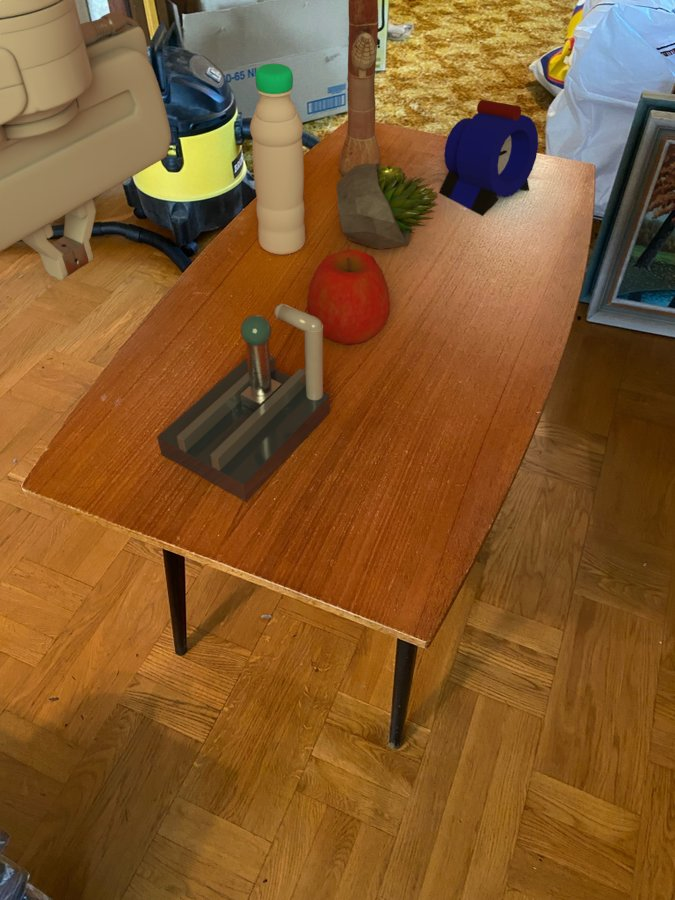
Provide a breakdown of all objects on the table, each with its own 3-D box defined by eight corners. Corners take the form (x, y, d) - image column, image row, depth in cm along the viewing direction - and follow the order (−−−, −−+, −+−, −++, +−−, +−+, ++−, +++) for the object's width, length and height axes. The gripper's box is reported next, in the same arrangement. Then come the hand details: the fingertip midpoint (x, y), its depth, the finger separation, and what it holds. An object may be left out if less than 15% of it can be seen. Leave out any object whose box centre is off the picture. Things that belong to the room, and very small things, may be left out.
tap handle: (240, 403, 81) (230, 322, 72) (261, 383, 83) (254, 302, 74) (262, 414, 80) (255, 333, 71) (283, 394, 82) (279, 313, 73)
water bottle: (308, 232, 110) (305, 59, 92) (302, 258, 106) (297, 81, 87) (263, 229, 111) (250, 56, 92) (255, 255, 106) (240, 78, 87)
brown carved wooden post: (346, 157, 127) (351, -42, 104) (386, 163, 126) (399, -37, 103) (329, 185, 120) (330, -21, 98) (371, 192, 119) (382, -15, 96)
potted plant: (346, 187, 113) (440, 169, 109) (353, 267, 112) (448, 251, 108) (324, 156, 101) (429, 134, 97) (331, 245, 101) (437, 226, 97)
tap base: (161, 454, 79) (136, 360, 69) (249, 374, 88) (239, 280, 78) (246, 502, 75) (233, 409, 65) (330, 413, 84) (330, 318, 74)
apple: (327, 294, 100) (327, 225, 92) (400, 313, 97) (406, 244, 89) (294, 339, 93) (291, 269, 85) (372, 361, 90) (376, 291, 82)
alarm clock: (485, 217, 114) (503, 123, 103) (429, 188, 120) (440, 95, 109) (533, 192, 119) (554, 100, 108) (477, 165, 125) (492, 75, 114)
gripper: (101, -7, 46) (142, 192, 57) (-207, 103, 35) (-85, 327, 45) (174, 13, 44) (203, 216, 54) (-129, 136, 33) (-19, 364, 43)
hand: (70, 267), depth 50 cm, fingers closed
